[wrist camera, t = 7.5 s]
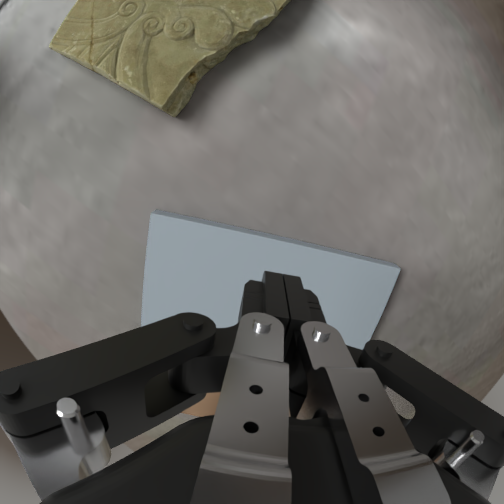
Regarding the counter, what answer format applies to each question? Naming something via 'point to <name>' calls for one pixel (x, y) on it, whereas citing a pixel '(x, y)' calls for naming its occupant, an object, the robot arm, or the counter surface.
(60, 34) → the decorative tile
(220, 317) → the grey plank
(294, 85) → the counter surface
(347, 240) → the counter surface
